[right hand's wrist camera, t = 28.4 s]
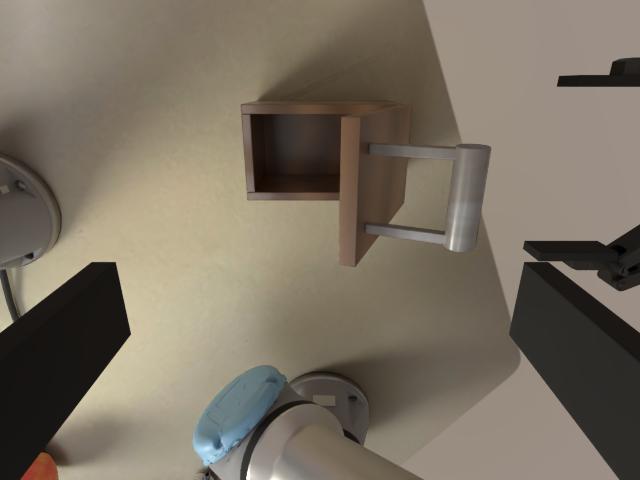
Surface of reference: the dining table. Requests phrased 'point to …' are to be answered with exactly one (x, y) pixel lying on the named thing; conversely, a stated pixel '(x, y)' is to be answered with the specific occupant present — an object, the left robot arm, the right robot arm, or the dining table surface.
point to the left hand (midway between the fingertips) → (547, 172)
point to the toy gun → (203, 476)
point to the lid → (401, 184)
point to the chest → (296, 147)
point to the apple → (42, 469)
